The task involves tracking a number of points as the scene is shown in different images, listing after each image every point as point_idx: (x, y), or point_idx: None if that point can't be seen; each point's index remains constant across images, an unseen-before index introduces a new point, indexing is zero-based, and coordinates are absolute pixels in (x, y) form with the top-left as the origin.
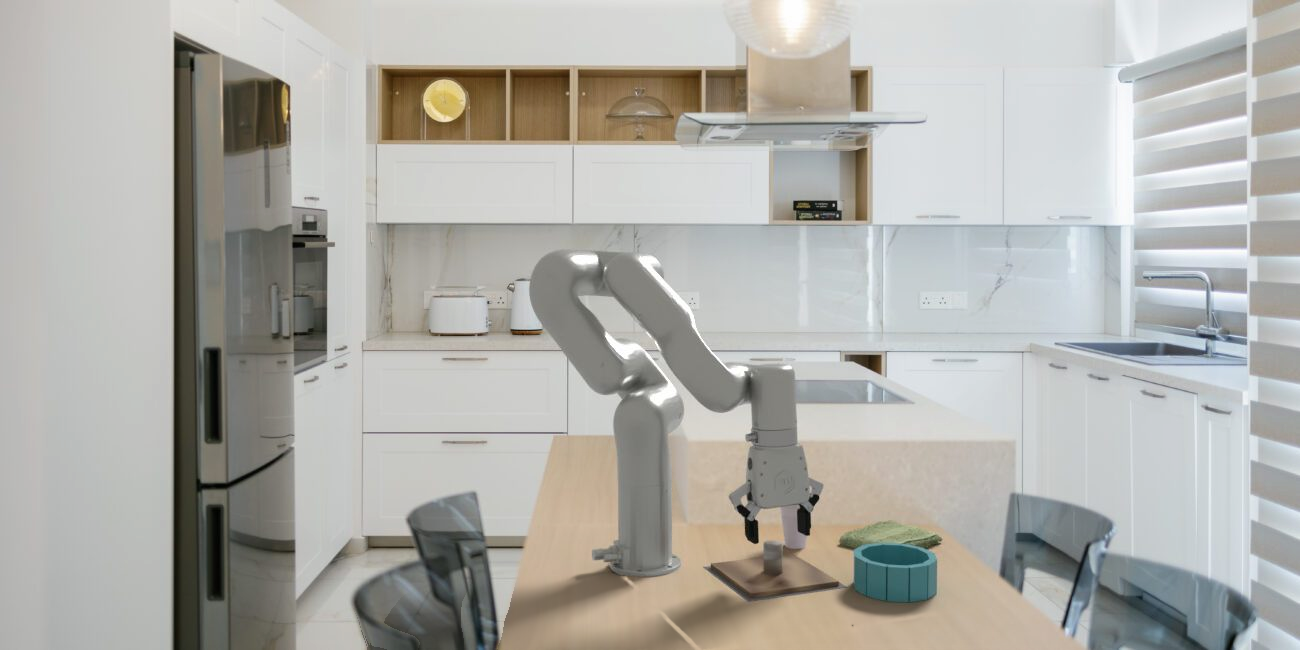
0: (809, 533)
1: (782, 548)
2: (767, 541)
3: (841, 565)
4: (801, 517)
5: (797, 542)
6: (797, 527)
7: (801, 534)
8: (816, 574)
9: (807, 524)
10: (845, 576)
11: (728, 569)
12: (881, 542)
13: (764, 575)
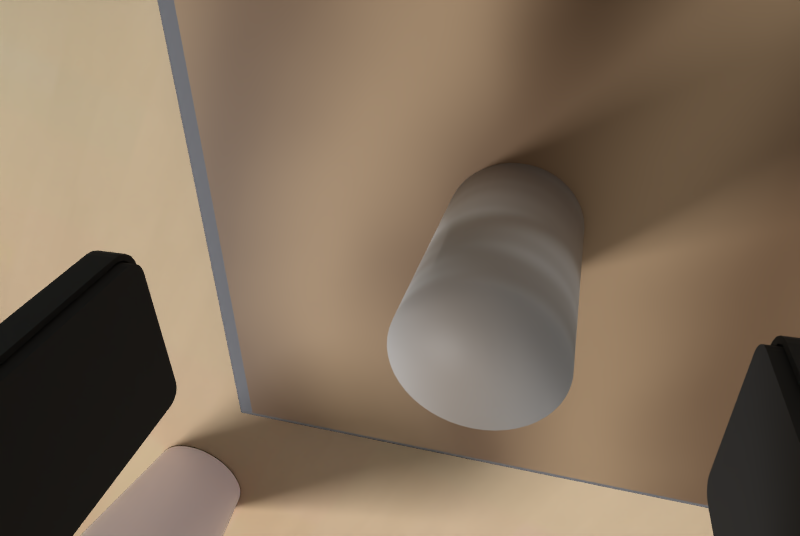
0: (90, 258)
1: (410, 284)
2: (497, 417)
3: (58, 219)
4: (42, 455)
5: (180, 483)
6: (157, 421)
7: (137, 508)
8: (250, 50)
9: (34, 324)
10: (75, 57)
11: None
12: None
13: (614, 197)
